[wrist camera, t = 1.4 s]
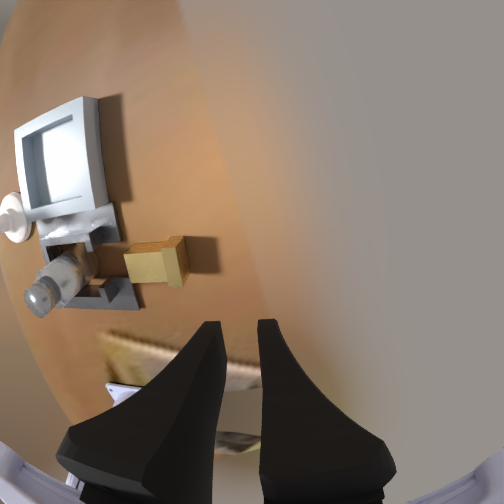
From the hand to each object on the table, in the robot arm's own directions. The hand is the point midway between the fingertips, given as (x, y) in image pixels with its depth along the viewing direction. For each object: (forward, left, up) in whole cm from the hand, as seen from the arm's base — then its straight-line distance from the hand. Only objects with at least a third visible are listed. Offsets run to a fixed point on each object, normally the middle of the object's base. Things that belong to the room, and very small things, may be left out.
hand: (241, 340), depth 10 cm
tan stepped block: (0, +7, -9) cm, 11 cm away
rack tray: (+9, +14, -9) cm, 19 cm away
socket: (0, +14, -9) cm, 17 cm away
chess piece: (+5, +22, -10) cm, 25 cm away
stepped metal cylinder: (0, +14, -9) cm, 17 cm away
